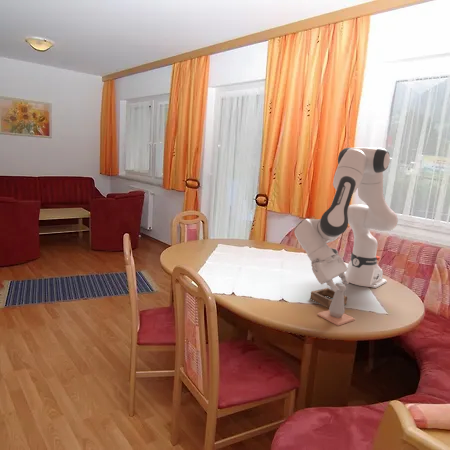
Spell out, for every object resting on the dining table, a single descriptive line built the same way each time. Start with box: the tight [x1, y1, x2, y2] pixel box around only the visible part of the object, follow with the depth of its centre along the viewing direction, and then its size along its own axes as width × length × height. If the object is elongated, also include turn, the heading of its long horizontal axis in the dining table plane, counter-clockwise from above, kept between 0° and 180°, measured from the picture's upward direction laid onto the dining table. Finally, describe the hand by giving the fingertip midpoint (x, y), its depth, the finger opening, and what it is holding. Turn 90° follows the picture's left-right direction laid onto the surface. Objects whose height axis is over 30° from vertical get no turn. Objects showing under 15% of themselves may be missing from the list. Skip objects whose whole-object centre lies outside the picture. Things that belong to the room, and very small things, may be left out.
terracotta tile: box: [317, 309, 356, 327], centre depth 146 cm, size 10×10×1 cm
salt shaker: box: [328, 282, 347, 318], centre depth 145 cm, size 6×6×13 cm
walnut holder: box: [309, 287, 348, 309], centre depth 161 cm, size 11×11×4 cm
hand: (342, 287), depth 143 cm, fingers open, 8 cm apart
